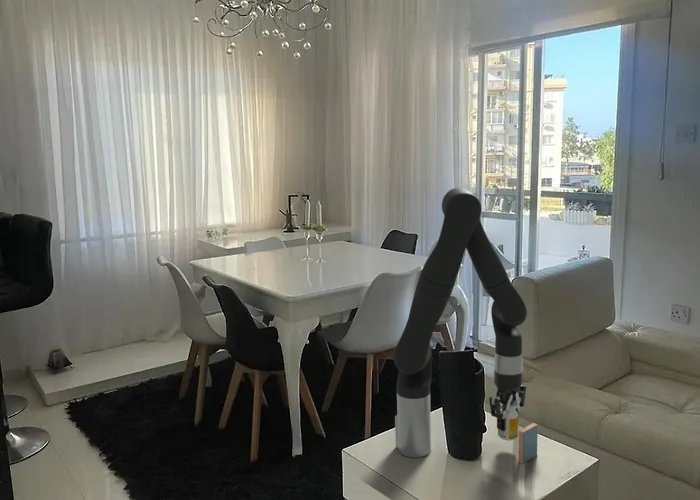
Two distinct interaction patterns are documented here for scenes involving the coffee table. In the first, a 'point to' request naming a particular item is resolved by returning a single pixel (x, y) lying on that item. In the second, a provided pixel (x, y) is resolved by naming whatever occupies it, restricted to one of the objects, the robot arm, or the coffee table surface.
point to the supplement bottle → (510, 424)
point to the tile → (527, 443)
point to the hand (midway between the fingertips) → (507, 426)
